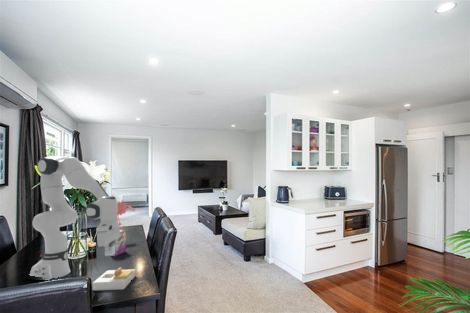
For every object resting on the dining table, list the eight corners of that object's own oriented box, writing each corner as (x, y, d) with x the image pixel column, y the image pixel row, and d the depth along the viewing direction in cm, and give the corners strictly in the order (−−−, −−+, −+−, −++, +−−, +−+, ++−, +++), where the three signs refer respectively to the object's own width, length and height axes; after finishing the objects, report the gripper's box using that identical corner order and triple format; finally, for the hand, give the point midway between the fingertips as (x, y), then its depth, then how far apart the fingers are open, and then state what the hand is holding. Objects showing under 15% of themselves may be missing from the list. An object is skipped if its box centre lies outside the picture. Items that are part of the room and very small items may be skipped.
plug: (104, 256, 142) (103, 244, 142) (107, 253, 146) (107, 241, 146) (112, 255, 142) (112, 243, 142) (116, 253, 146) (115, 241, 147)
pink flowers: (101, 243, 220) (101, 202, 221) (130, 237, 239) (130, 199, 240) (108, 247, 210) (108, 204, 211) (138, 240, 229) (138, 200, 230)
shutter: (113, 278, 137) (113, 272, 138) (120, 271, 146) (120, 266, 147) (126, 278, 138) (126, 272, 138) (132, 271, 147) (132, 265, 147)
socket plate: (92, 290, 134) (92, 282, 134) (107, 277, 150) (107, 270, 150) (123, 289, 134) (123, 281, 134) (135, 276, 150) (135, 269, 150)
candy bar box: (115, 256, 185) (115, 233, 186) (109, 256, 187) (109, 233, 187) (126, 251, 196) (125, 229, 197) (120, 251, 197) (120, 229, 198)
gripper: (111, 221, 155) (112, 244, 154) (94, 229, 134) (94, 256, 134) (122, 220, 155) (123, 244, 154) (106, 228, 135) (107, 255, 134)
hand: (109, 249), depth 144 cm, fingers closed on plug, 4 cm apart
